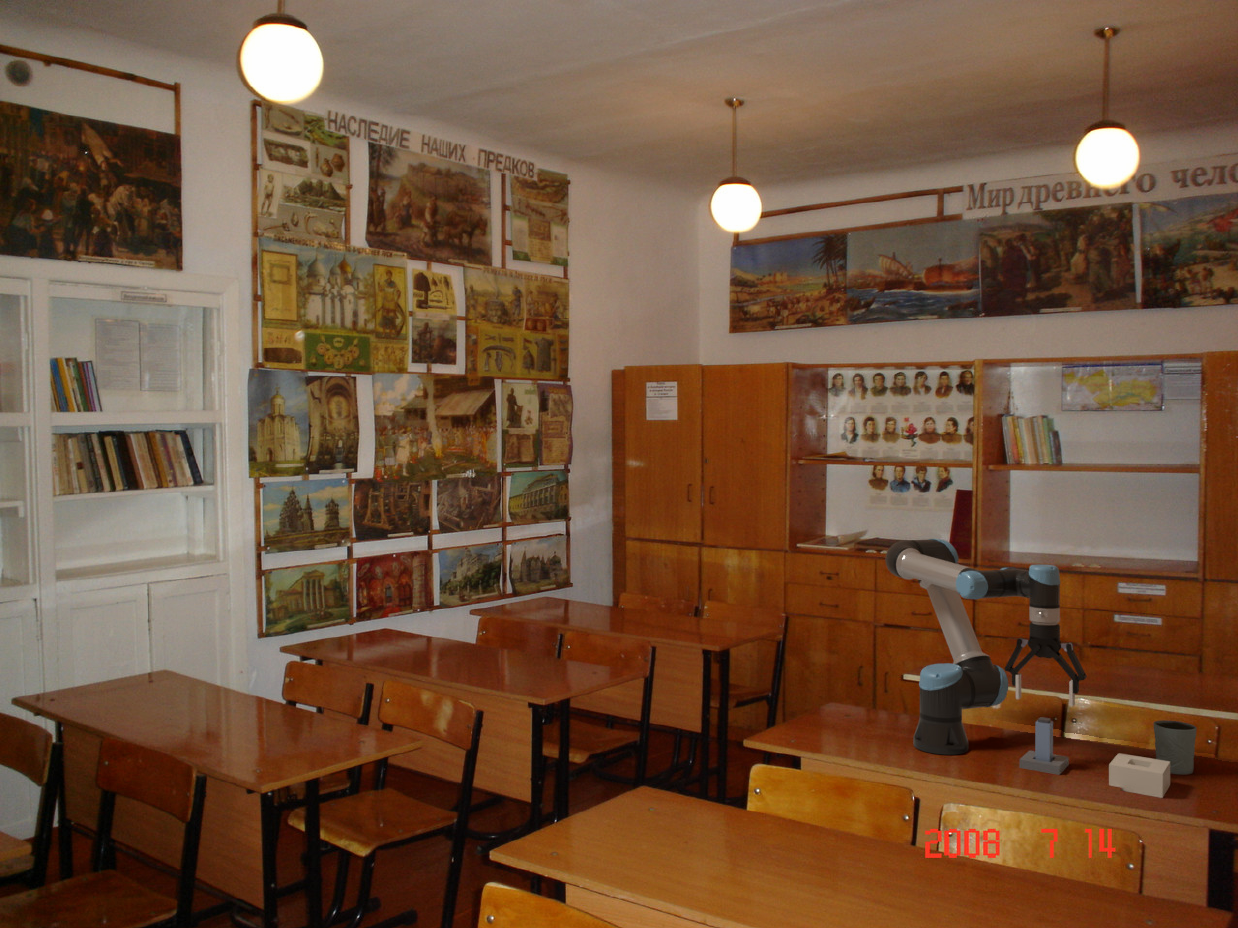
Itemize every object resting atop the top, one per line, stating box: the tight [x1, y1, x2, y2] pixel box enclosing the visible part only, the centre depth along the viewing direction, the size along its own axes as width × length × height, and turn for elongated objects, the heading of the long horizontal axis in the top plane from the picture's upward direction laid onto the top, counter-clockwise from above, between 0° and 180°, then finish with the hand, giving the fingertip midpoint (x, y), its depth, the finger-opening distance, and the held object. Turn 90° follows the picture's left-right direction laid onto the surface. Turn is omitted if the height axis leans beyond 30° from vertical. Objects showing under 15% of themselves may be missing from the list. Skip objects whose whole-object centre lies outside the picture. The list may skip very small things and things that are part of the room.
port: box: [1108, 752, 1171, 799], centre depth 250 cm, size 12×12×6 cm
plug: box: [1034, 716, 1054, 762], centre depth 264 cm, size 4×4×13 cm
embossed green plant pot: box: [1153, 719, 1198, 776], centre depth 264 cm, size 10×10×12 cm
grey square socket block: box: [1019, 750, 1070, 775], centre depth 264 cm, size 10×10×3 cm
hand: (1044, 701), depth 264 cm, fingers open, 13 cm apart
